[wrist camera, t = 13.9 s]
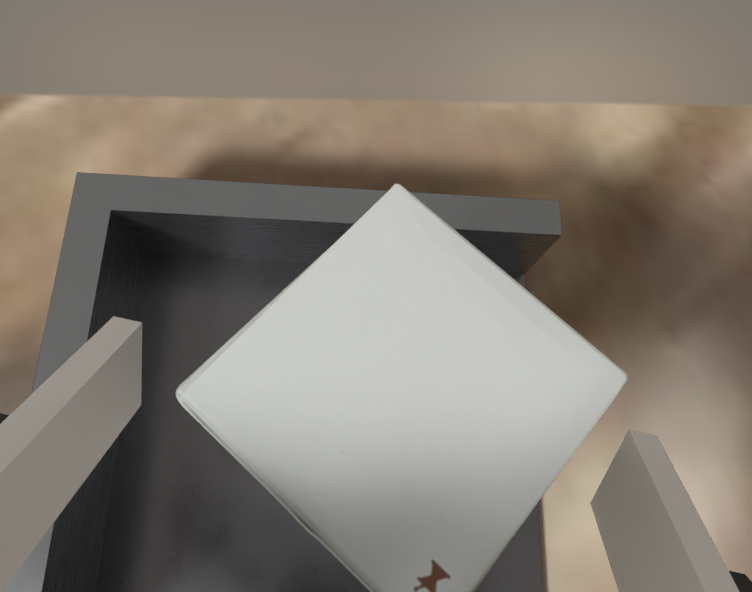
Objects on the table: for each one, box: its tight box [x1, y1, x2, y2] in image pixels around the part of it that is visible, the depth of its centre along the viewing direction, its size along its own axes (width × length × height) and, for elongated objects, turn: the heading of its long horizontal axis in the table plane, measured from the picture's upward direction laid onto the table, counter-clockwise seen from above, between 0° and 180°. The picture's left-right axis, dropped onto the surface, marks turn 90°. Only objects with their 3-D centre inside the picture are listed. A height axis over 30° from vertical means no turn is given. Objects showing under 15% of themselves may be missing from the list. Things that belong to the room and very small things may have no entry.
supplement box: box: [176, 184, 628, 592], centre depth 18 cm, size 7×7×13 cm
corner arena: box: [2, 172, 562, 592], centre depth 22 cm, size 19×18×5 cm
